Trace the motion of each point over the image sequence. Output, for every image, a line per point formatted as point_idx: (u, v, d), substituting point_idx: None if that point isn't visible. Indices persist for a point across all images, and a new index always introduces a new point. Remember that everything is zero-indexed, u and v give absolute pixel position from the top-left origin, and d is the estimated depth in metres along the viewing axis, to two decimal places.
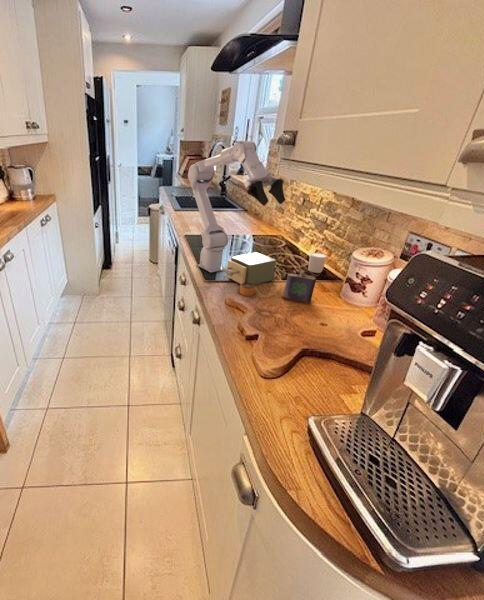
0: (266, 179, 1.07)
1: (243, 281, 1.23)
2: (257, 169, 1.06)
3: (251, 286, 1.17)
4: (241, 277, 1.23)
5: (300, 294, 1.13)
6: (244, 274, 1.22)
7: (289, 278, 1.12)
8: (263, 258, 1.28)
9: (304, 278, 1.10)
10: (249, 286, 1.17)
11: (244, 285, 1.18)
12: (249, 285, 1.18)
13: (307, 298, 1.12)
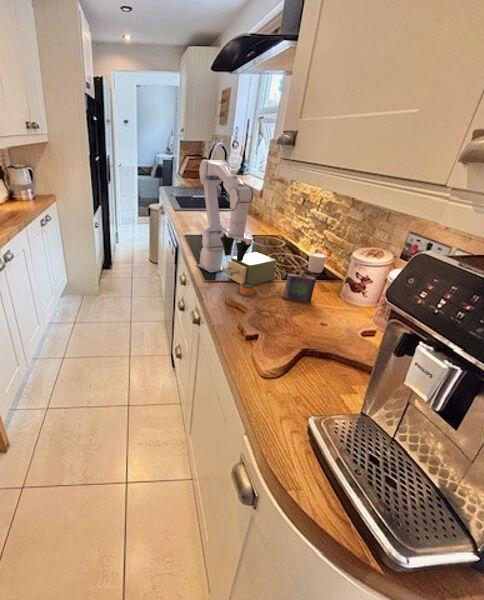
0: None
1: (243, 281, 1.23)
2: (229, 225, 1.17)
3: (251, 286, 1.17)
4: (241, 277, 1.23)
5: (300, 294, 1.13)
6: (244, 274, 1.22)
7: (289, 278, 1.12)
8: (263, 258, 1.28)
9: (304, 278, 1.10)
10: (249, 286, 1.17)
11: (244, 285, 1.18)
12: (249, 285, 1.18)
13: (307, 298, 1.12)
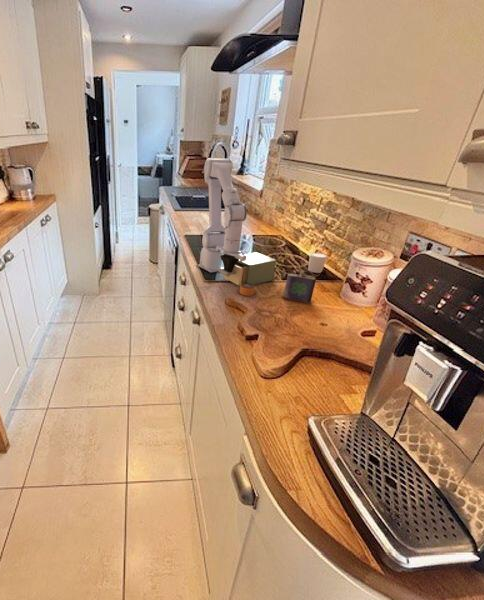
0: None
1: (240, 282, 1.23)
2: (224, 242, 1.19)
3: (251, 286, 1.17)
4: (238, 278, 1.22)
5: (300, 294, 1.13)
6: (241, 275, 1.21)
7: (289, 278, 1.12)
8: (263, 258, 1.28)
9: (304, 278, 1.10)
10: (249, 286, 1.17)
11: (244, 285, 1.18)
12: (249, 285, 1.18)
13: (307, 298, 1.12)
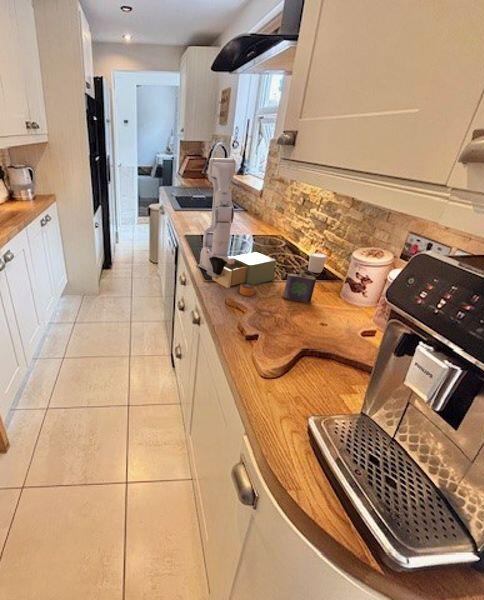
0: None
1: (229, 284, 1.20)
2: (212, 244, 1.17)
3: (251, 286, 1.17)
4: (226, 280, 1.20)
5: (300, 294, 1.13)
6: (229, 277, 1.19)
7: (289, 278, 1.12)
8: (263, 258, 1.28)
9: (304, 278, 1.10)
10: (249, 286, 1.17)
11: (244, 285, 1.18)
12: (249, 285, 1.18)
13: (307, 298, 1.12)
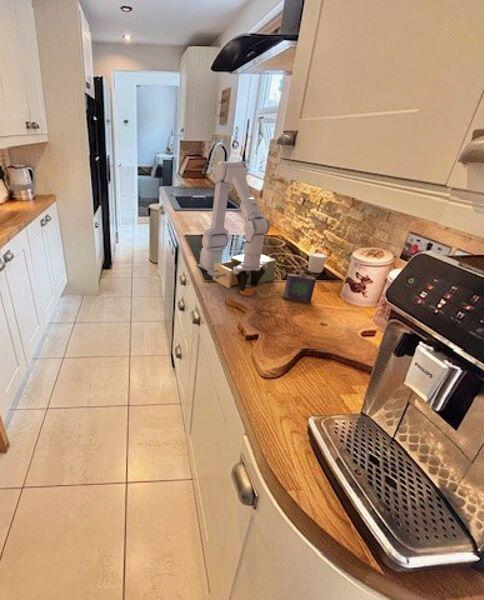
0: None
1: (229, 284, 1.20)
2: (252, 259, 1.11)
3: (251, 286, 1.17)
4: (227, 280, 1.20)
5: (300, 294, 1.13)
6: (230, 277, 1.19)
7: (289, 278, 1.12)
8: (263, 258, 1.28)
9: (304, 278, 1.10)
10: (249, 286, 1.17)
11: None
12: (249, 285, 1.18)
13: (307, 298, 1.12)
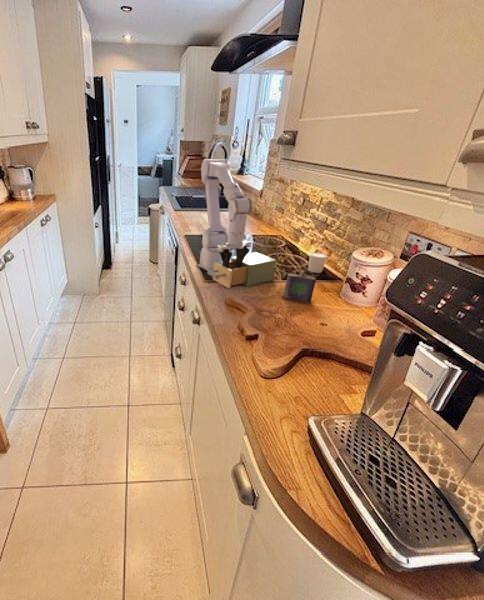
0: None
1: (229, 284, 1.20)
2: (236, 238, 1.16)
3: None
4: (227, 280, 1.20)
5: (300, 294, 1.13)
6: (230, 277, 1.19)
7: (289, 278, 1.12)
8: (263, 258, 1.28)
9: (304, 278, 1.10)
10: None
11: None
12: None
13: (307, 298, 1.12)
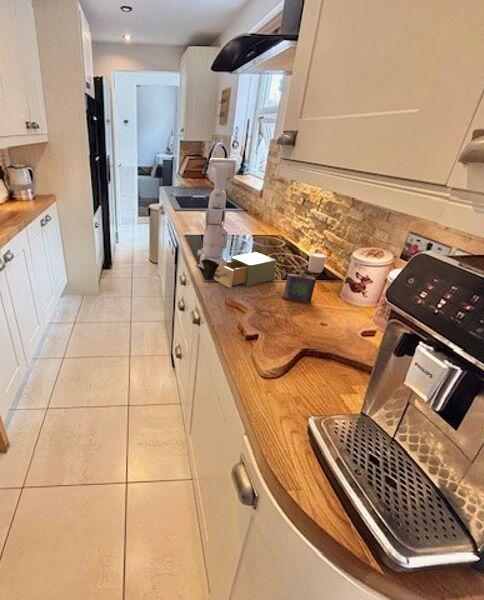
0: None
1: (230, 284, 1.21)
2: None
3: None
4: (228, 280, 1.20)
5: (300, 294, 1.13)
6: (231, 277, 1.19)
7: (289, 278, 1.12)
8: (263, 258, 1.28)
9: (304, 278, 1.10)
10: None
11: None
12: None
13: (307, 298, 1.12)
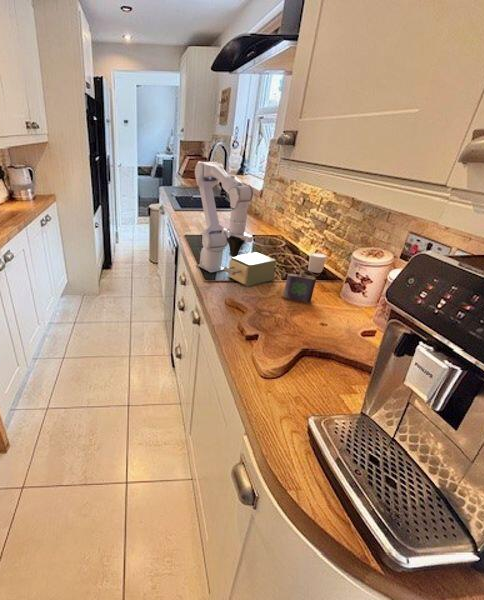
0: None
1: (245, 281, 1.24)
2: None
3: None
4: (243, 277, 1.24)
5: (300, 294, 1.13)
6: (246, 274, 1.23)
7: (289, 278, 1.12)
8: (263, 258, 1.28)
9: (304, 278, 1.10)
10: None
11: None
12: None
13: (307, 298, 1.12)
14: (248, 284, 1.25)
